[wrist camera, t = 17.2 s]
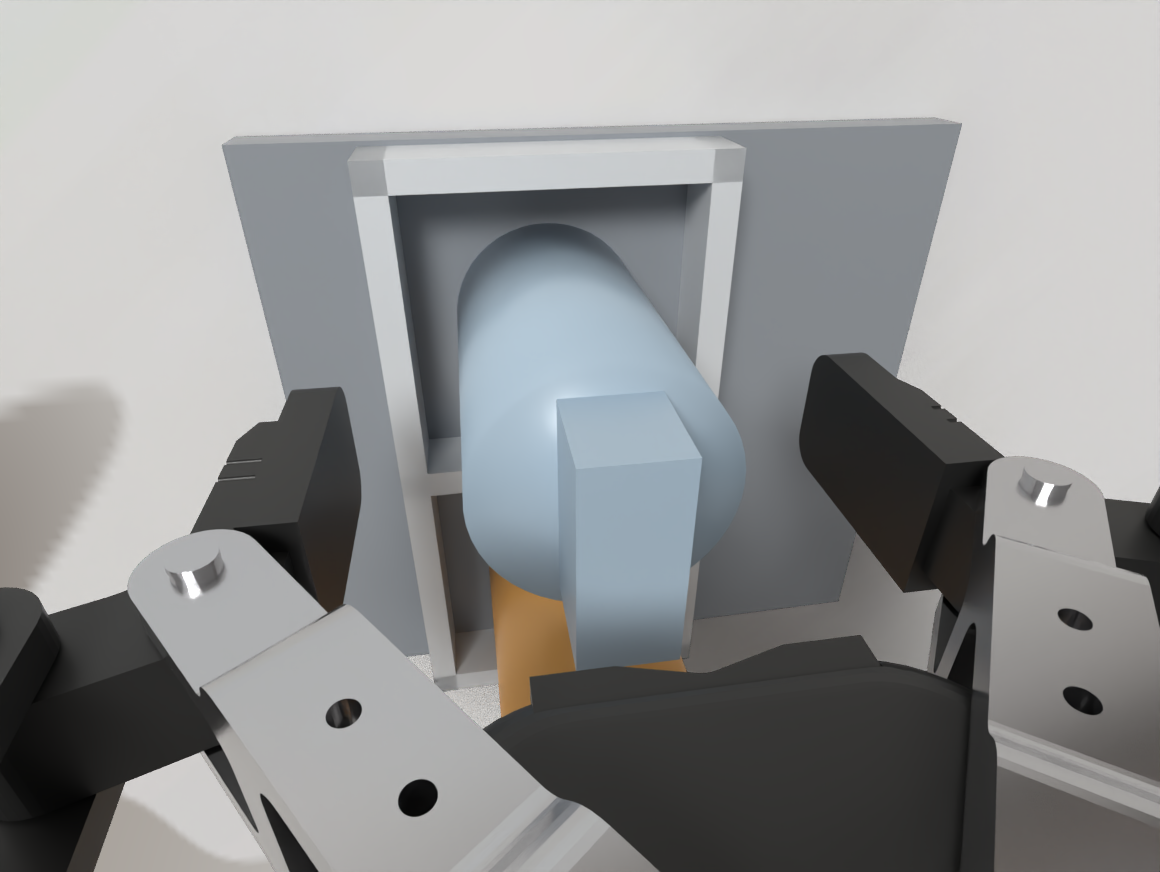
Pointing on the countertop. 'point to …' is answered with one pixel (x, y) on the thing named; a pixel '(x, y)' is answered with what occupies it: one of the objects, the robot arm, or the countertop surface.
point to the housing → (662, 270)
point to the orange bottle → (533, 642)
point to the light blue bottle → (588, 443)
